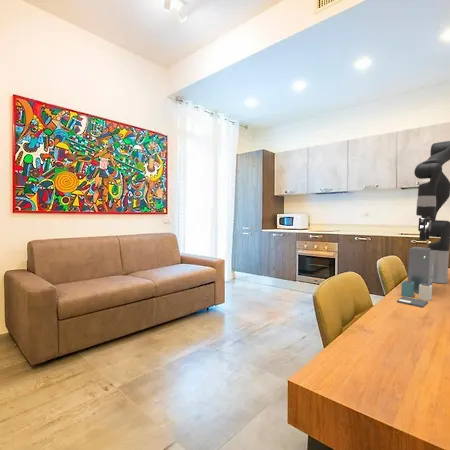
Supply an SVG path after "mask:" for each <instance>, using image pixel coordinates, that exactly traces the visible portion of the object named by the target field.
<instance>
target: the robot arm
mask: <svg viewBox="0 0 450 450" xmlns="http://www.w3.org/2000/svg"><path fill="white" fill-rule="evenodd" d="M429 153H430V155H429V157H428V159H426V160H424V161H422V162H420V163H418V164H417V165H416V167H415V169H414V176H415V178H417V179H420V180H421V179H422V180H426V179H429V181H427V182H425V183H421V184H418V188H417V190H418V191H417V200H416V211H415V212H416V214H415V215H416V216H418V217H419V218H418V231H419V241H426V240H430V238H440V239H439V240H438V241H436V242H432V243H429V244H427V248H430V250H433V255H432V265H433V276H432V283H435V284H448V275H449V274H448V273H449V256H450V254H449V253H450V221H449V220H444V219H443V220H440V219H437V214H438V213H439V211H440V209H441V208H442V206H444V205H445V203H446V202H447V201H448V199H449V198H450V180H449V179H448V177H447V176H446V175H445V173H444V172H443V166H444V164H446V163H447V162H449V161H450V140H447V141H441V142H439V141H437V142H434V143H432V145H431V146H430V152H429Z"/></svg>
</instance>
